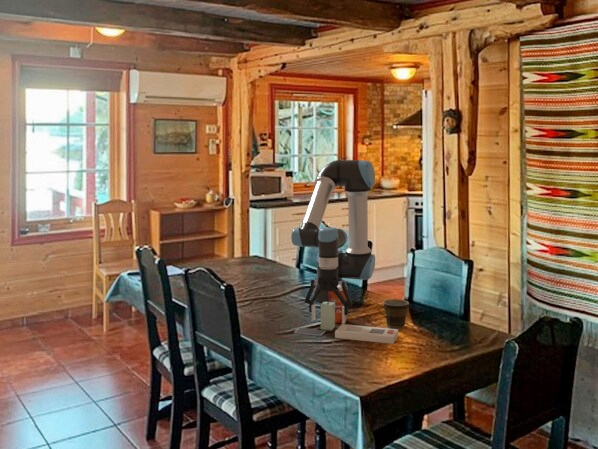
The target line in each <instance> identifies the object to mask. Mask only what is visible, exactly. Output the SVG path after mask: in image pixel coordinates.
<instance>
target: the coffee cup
mask: <svg viewBox="0 0 598 449" xmlns="http://www.w3.org/2000/svg"><path fill="white" fill-rule="evenodd" d="M337 287H338V289H339V291H340V292H341V294H342V295H343V297H344V298H345V300H346V297H345V295H344V292H343V290H342V287H341V286H340V284H339V285H338V286H337ZM347 289H349V288H348V287H347ZM346 301H347V300H346ZM329 302H334V303H335V324H340V323H341V324H342V307H343V304H342V303H341V301H340V300H339V298H338V297H337V295H336V294H335V293H334V292H333V291H332V292H330V291H329Z"/></svg>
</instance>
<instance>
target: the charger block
mask: <svg viewBox="0 0 598 449" xmlns="http://www.w3.org/2000/svg"><path fill="white" fill-rule="evenodd" d="M335 328H336V323H335V303H334V302H321V304H320V330H325V331H332V330H334V329H335Z"/></svg>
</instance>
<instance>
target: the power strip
mask: <svg viewBox="0 0 598 449" xmlns="http://www.w3.org/2000/svg"><path fill="white" fill-rule="evenodd" d="M398 337H399V329H390V328H388V327H377V326H367V325H366V326H365V325H357V324H346V323H345V324H342V323H341V324H340V325H339V327H338V328H337V329H335V331H334V339H343V340H351V341H362V342H371V343H372V342H373V343H382V344H393V345H394V344H395V342H396V340H397V338H398Z"/></svg>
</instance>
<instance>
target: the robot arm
mask: <svg viewBox="0 0 598 449" xmlns="http://www.w3.org/2000/svg"><path fill="white" fill-rule="evenodd" d="M375 183H376V174H375V169H374V165H373V163H372V162H371V161H369V160H362V159H353V160H352V159H345V160H344V159H336V160H333V161H331V162H329V163H327V164H326V165H325V166H324V167H323V168H321V169H320V171H318V174H317V175H316V177H315V179H314V182H313V184H314V189H313V192H312V195H311V197H310V200H309V202H308V206H307V208H306V211H305V214H304V216H303V219H302V222H301V225H300V226H299V227H294V228H292V231H291V235H290V239H291V243H292V245H293V246H294V247H302V248H305V247H306V248H318V253H317V255H316V258H317V259H316V279H315V278H313V279H311V280H310V285H309V286H310V287H309V289H308V290H307V293H306V296H305V298H304V303H306V304H308V307H309V308H308V309H309V313H311V322H315V320H316V303H315V302H317V303H318V302H319V303H323V302H329V291H330V292H332V291H333V292H334V293H335V294H336V295H337V297H338V298H339V300H340V301H341V303H342V304H343V307H342V323H341V324H346V322H347V316H348V315H349V307H352V306H353V304H354V302H353V299H352V296H351V294H350V292H349V290H348V289H349V288H348V286H347V281H346V280H343V279H350V280H360V281H361V280H364V281H367V280H371V278H372V277H373V274H374V271H375V266H376V255H375V254H372V249H371V248H370V247H369V245H368V244H369V240H368V239H369V237H368V236H369V235H368V234H369V232H368V228H369V226H368V225H369V224H368V222H369V221H368V217H369V215H368V210H369V209H368V195H369V193H370V192H371V190H372V188H373V187H374V186H375ZM337 187H344V192H345V193H346V194H347V202H348V203H347V204H348V205H347V208H348V209H347V210H348V214H347V215H348V219H347V220H348V221H347V222H348V234H347V232H346V230H344V229H341V228H336V227H333V226H332V227H331V226H330V227H321V223H322V220H323V218H324V215H325V212H326V209H327V206H328V204H329V201H330V198H331V194H332V193H333V192H334V191H335V190H336V188H337ZM320 227H321V228H320ZM347 242H348V247H347V248H346V249H345V252H343V249H341V248H342V247H344V246H345V245H346V243H347ZM339 284H340V286H341V287H342V290H343V292H344V295H345V297H346V300H345V298H344V297H343V295H342V294H341V292H340V291H339V289H338V287H337V286H338V285H339ZM347 288H348V289H347ZM311 296H312V297H311Z"/></svg>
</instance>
